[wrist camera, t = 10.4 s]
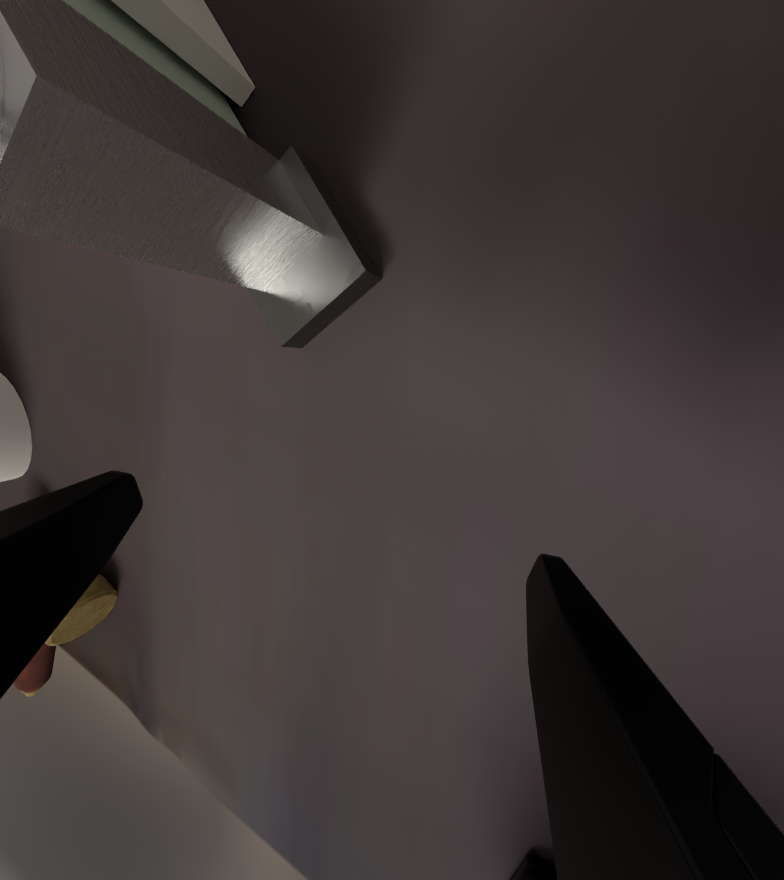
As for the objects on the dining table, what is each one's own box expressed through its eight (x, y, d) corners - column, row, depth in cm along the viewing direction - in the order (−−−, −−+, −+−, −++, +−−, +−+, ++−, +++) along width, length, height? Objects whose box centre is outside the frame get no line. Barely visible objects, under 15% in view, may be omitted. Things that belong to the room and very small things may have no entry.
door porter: (382, 278, 16) (-40, 71, 5) (301, 347, 18) (-119, 322, 7) (313, 163, 16) (-245, -302, 5) (242, 245, 18) (-259, 55, 7)
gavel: (31, 756, 33) (-31, 672, 35) (90, 710, 37) (32, 638, 39) (48, 622, 24) (-36, 520, 26) (125, 581, 28) (46, 495, 30)
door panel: (281, 191, 16) (10, 20, 8) (261, 214, 17) (-9, 77, 9) (150, -34, 17) (-229, -405, 9) (135, -3, 17) (-232, -324, 9)
